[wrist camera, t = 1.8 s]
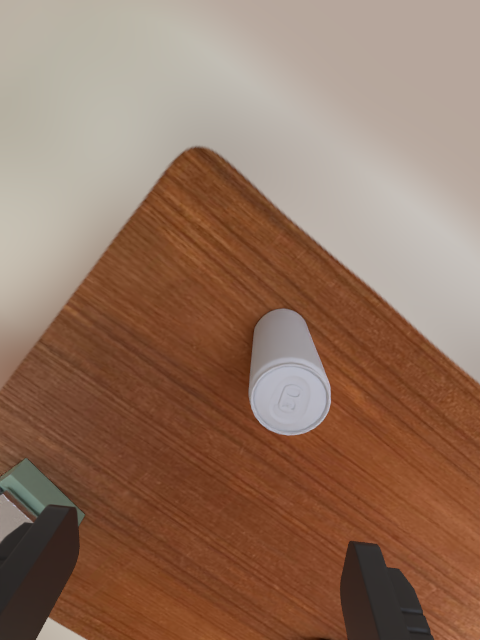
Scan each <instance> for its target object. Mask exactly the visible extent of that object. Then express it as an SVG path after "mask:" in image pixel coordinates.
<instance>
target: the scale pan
mask: <svg viewBox="0 0 480 640" xmlns="http://www.w3.org/2000/svg"><path fill="white" fill-rule="evenodd" d="M37 517H38V516H37V515H36V514H35V513H34V512H33V511H32V510H30V509H29V508H28V507H27V506H26V505H25V504H24V503H23V502H22V501H21V500H20V499H19V498H18V497H16V496H15V495H14V494H13V493H12V492H11V491H10V490H9V489H6V490H5V491H3V492H2V493H1V494H0V543H1V541H2V540H3V539H4V538H5V537H6V536H7V535H8V534H10V533H11V532H12V531H14V530H15V529H16V528H18V527H19V526H20V525H22V524H23V523H24V522H28V523H34V521H35V520H36V519H37Z"/></svg>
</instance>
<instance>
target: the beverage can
mask: <svg viewBox="0 0 480 640" xmlns="http://www.w3.org/2000/svg"><path fill="white" fill-rule="evenodd" d="M330 397H331V392H330V384H329V381H328V379H327V376H326V373H325V371H324V368H323V365H322V363H321V360H320V358H319V355H318V353H317V351H316V348H315V346H314V343H313V341H312V338H311V335H310V333H309V330H308V327H307V325H306V322H305V321H304V319H303V318H302V316H300V315H299V314H298V313H297V312H294V311H292V310H289V309H276V310H273V311H271V312H269V313H267V314H266V315H264V316H263V317H262V318H261V319H260V320H259V321H258V323H257V325H256V327H255V330H254V336H253V348H252V359H251V370H250V381H249V400H250V404H251V408H252V410H253V413H254V415H255V417H256V418H257V419H258V421H259V422H260V423H261V424H262V425H263V426H265V427H266V428H267V429H269V430H271V431H273V432H275V433H278V434H283V435H299V434H302V433H306V432H308V431H310V430H312V429H314V428H315V427H317V426H318V425H319V424H320V423H321V422H322V421H323V420H324V418H325V417H326V415H327V413H328V411H329V407H330V403H331V398H330Z"/></svg>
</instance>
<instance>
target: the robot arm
mask: <svg viewBox="0 0 480 640" xmlns="http://www.w3.org/2000/svg"><path fill="white" fill-rule="evenodd" d="M79 547H80V544H79V530H78V515H77V509H76V507H71V506H63V505H54V504H49V505H47V506H46V507H45V508H44V509H43V511H42V512H41V513H40V515H39V516H38V517H37V519H36V520H35V521H34V523H28V522H24V523H23V524H22V525H20V526H19V527H18V528H16V529H15V530H14V531H12V532H11V533H10V534H8V535H7V536H6V537H5V538H4V539H3V540H2V541H1V543H0V640H36V638H37V636H38V634H39V633H40V631H41V629H42V627H43V625H44V623H45V622H46V619H47V618H48V616H49V614H50V612H51V610H52V609H53V607H54V605H55V603H56V601H57V599H58V597H59V596H60V594H61V592H62V590H63V588H64V586H65V584H66V583H67V581H68V579H69V577H70V575H71V573H72V571H73V569H74V567H75V565H76V562H77V558H78V554H79ZM340 596H341V605H342V611H343V616H344V621H345V626H346V631H347V637H348V640H434V638H433V636H432V635H431V633H430V628H429V626H428V623H427V621H426V618H425V616H423V610H422V608H421V605H420V603H419V600H418V598H417V595H416V593H415V590H414V588H413V587H412V586H411V584H410V583H409V582H408V580H407V579H406V578H405V576H404V575H403V574H402V572H401V571H400V570H399V569H397V568H388V567H386V564H385V561H384V558H383V555H382V552H381V550H380V547H379V546H378V545H377V544H373V543H365V542H356V541H350V542H349V544H348V548H347V553H346V558H345V562H344V567H343V572H342V576H341V583H340Z"/></svg>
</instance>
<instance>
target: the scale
mask: <svg viewBox="0 0 480 640" xmlns="http://www.w3.org/2000/svg"><path fill="white" fill-rule="evenodd" d="M6 489H9V490H10V491H11V492H12V493H13V494H14V495H15V496H16V497H18V498H19V499H20V500H21V501H22V502H23V503H24V504H25V505H26V506H27V507H28V508H29V509H30V510H32V511H33V512H34V513H35V514H36V515H37V516H39V515H40V513H41V512H42V511H43V509H44V508H45V507H46V506H47V505H49V504H54V505H63V506H71V507H76V509H77V515H78V526H79V525H80V523H81V521H82V520H83V518H84V516H85V514H84V513H83V512H82V511H81V510H80V509H79V508H78V507H77V506H76V505H74V504H73V503H72V502H71V501H70V500H69V499H68V498H67V497H66V496H65V495H64V494H63V493H62V492H61V491H60V490H59V489H58V488H57V487H56V486H55V485H54V484H53V483H52V482H51V481H50V480H49V479H48V478H46V477H45V476H44V475H43V474H42V473H41V472H40V471H39V470H38V469H37V468H36V467H35V466H34V465H33V464H32V463H31V462H30V461H29V460H28V459H27V458H25V459H24V460H23V461H21V462H20V463H19V464H17V465H16V466H15V467H13V468H12V469H10V470H9V471H8V472H6V473H5V474H4V475H2V476H1V477H0V494H1V493H2V492H3V491H5V490H6Z"/></svg>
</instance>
